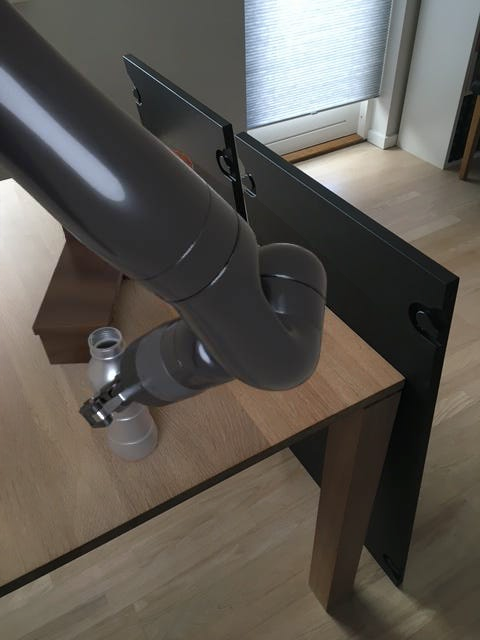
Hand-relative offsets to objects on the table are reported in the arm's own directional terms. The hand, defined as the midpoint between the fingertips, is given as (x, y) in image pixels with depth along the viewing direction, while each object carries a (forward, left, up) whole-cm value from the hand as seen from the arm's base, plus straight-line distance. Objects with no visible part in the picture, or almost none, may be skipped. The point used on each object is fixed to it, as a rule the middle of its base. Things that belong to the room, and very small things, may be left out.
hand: (111, 390), depth 65 cm
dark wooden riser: (+9, +26, -10) cm, 30 cm away
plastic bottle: (0, -2, -11) cm, 11 cm away
